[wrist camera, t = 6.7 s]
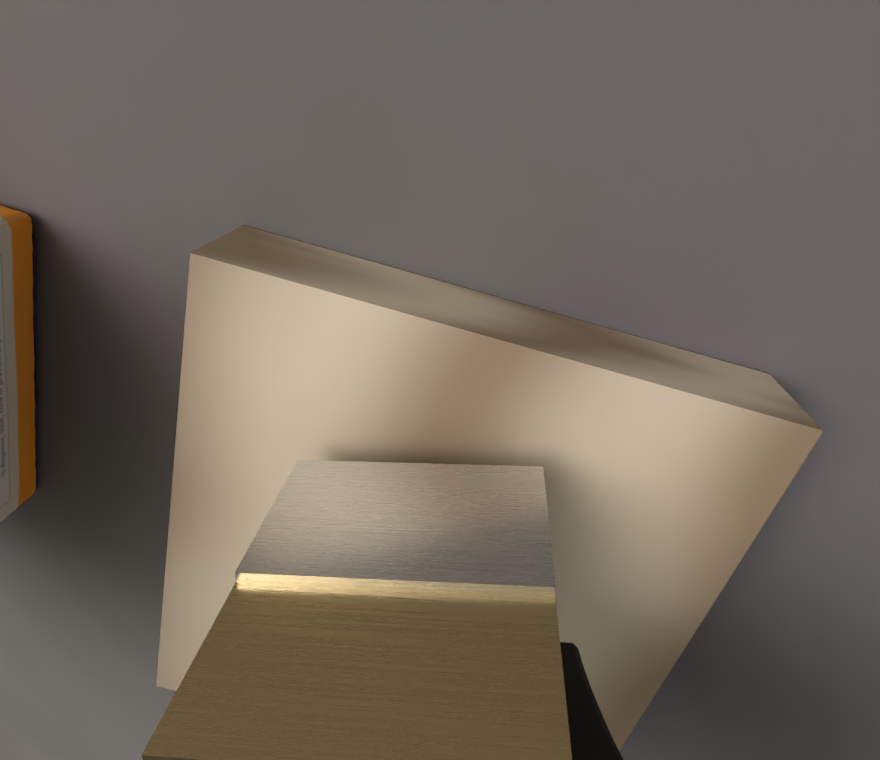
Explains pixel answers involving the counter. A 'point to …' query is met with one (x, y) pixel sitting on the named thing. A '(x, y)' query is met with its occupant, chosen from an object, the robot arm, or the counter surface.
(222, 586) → the stand
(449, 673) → the block
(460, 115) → the counter surface
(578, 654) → the robot arm
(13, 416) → the supplement box
